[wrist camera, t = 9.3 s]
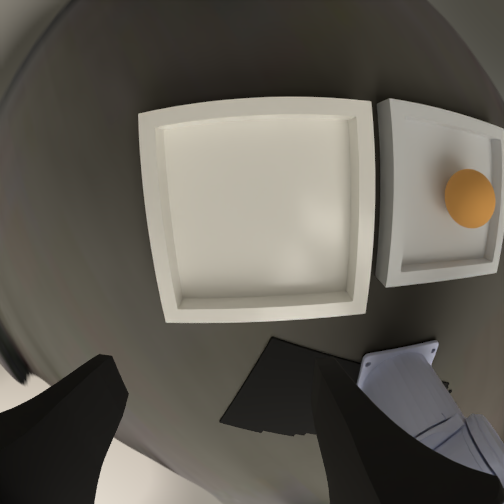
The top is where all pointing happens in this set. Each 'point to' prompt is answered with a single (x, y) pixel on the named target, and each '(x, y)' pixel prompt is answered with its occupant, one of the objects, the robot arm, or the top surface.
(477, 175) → the ball
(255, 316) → the dish
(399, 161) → the tray
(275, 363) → the black flat plate
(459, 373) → the top surface
